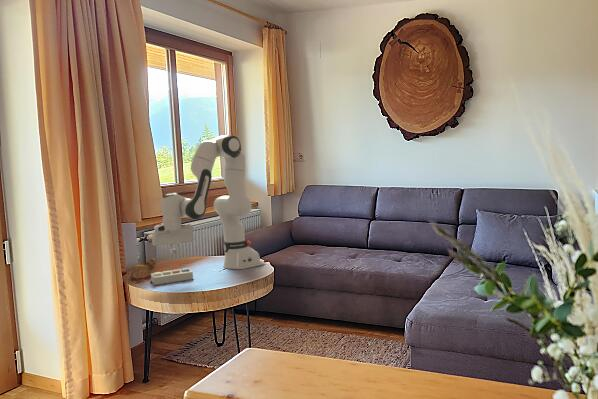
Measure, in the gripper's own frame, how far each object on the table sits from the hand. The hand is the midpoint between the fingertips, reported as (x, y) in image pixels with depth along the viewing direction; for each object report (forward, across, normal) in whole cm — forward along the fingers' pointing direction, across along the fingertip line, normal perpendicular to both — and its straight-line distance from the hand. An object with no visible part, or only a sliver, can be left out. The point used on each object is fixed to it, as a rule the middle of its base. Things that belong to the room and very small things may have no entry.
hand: (174, 252), depth 258 cm
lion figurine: (+14, +13, -19) cm, 27 cm away
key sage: (+12, +4, 0) cm, 13 cm away
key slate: (+12, -5, 0) cm, 13 cm away
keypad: (+14, +2, 0) cm, 14 cm away
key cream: (+12, +9, 0) cm, 15 cm away
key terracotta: (+12, 0, 0) cm, 12 cm away
